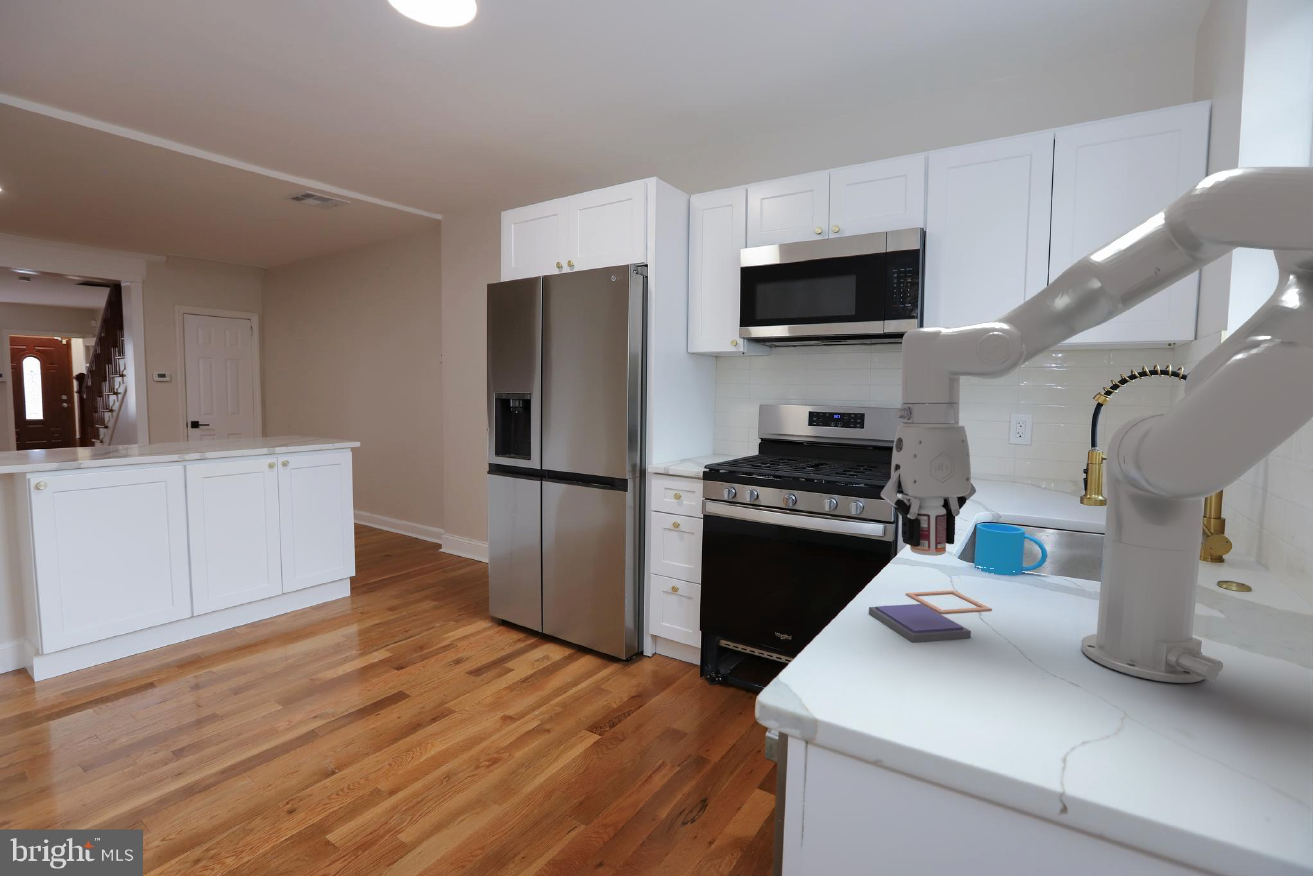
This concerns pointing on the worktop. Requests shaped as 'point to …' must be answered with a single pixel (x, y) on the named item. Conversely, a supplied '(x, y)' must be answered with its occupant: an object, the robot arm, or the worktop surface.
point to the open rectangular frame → (982, 608)
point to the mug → (1003, 549)
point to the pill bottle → (931, 527)
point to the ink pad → (919, 623)
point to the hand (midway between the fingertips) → (928, 542)
